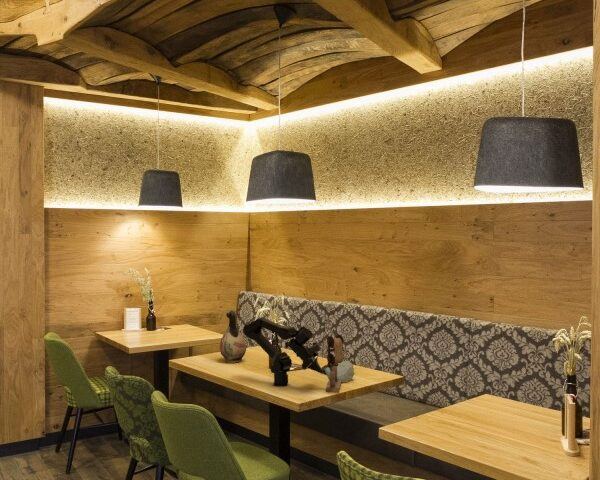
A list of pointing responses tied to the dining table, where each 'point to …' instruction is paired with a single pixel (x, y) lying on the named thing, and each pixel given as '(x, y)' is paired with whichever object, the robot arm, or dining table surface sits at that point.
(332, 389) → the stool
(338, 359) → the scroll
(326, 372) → the hinged leg
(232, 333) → the ceramic jug
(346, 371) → the decorative stone
